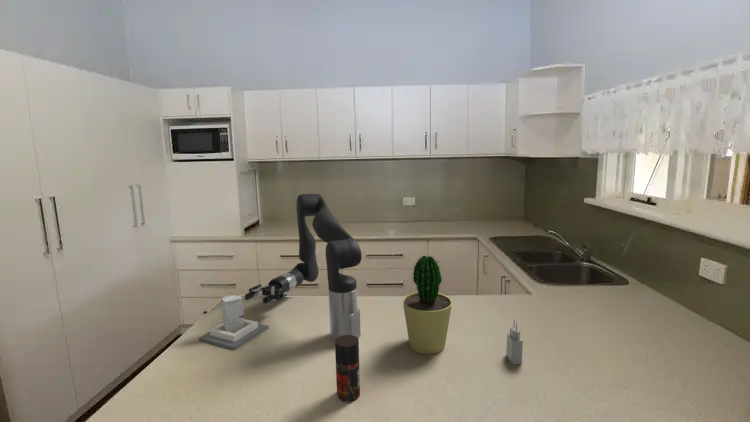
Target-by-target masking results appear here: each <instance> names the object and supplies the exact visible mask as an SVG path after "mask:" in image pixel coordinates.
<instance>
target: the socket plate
mask: <svg viewBox="0 0 750 422" xmlns="http://www.w3.org/2000/svg"><path fill="white" fill-rule="evenodd" d="M268 329H270V327H269V325H268V324H262V323H260V322H259V321H256V320H255V321H254V320H250V319H245V318H244V328H242V329H241V330H239V331H237V332H235V333H231V332H227V331H224V323H223V322H222V323H220V324H218V325H216V326H215V327H213V328H211V329H209V331H208V332H207V333H204V334H202V335H201V336H199V337H198V341H199V342H204V343H208V344H211V345H216V346H220V347H222V348H226V349H230V350H234V351H236V350H237V349H238V348H240V347H242V346H243V345H246V344H247V343H248V342H250V341H251V340H253V339H254V338H256V337H257V336H259V335H261V334H262V333H264V332H265V331H266V330H268Z"/></svg>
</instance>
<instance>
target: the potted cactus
mask: <svg viewBox="0 0 750 422" xmlns="http://www.w3.org/2000/svg"><path fill="white" fill-rule="evenodd" d="M434 256H435V255H433V256H431V255H426V256H425V254H424V255H422V256H420V257H419V258H417V259H416V261H415V262H414V263H413V262H412V265H413V264H414V265H413V269H411V270H412V274H411V275H412V276H411V279H412V283H414V285H415V286H416V287H415V288H416V290H417V292H413V293H412V292H411V293H409V294H407V295H405V296H404V297H403V299H402V304H403V305H402V306H403V311H404V317H405V325H406V331H407V338H408V344H409V347H410V348H411V349H412V350H413V351H415V352H417V353H419V354H426V355H433V354H437V353H440V352H442V351H443V350H444V349H445V347H446V341H447V336H448V330H449V324H450V319H451V313H452V306H453V299H451V298H450V297H449V296H447V295H445V294H443V293H439V291H440V289H441V287H440V286H441V284H443V277H444V276H442V274H441V273H443V272H444V271H443V270H441V267H440V266H441V265H440V266H439V263H438V262H439V260H438V258H435V257H434ZM440 270H441V271H440Z"/></svg>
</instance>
